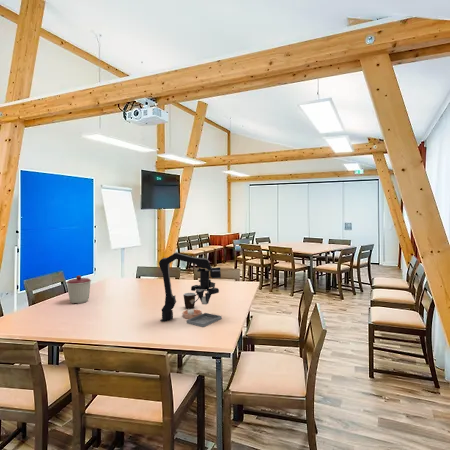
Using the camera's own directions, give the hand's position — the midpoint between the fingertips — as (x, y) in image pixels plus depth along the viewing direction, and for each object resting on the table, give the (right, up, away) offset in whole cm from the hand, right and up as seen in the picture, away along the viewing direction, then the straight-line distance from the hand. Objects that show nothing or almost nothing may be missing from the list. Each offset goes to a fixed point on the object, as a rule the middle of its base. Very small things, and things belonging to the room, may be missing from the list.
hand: (204, 302), depth 204 cm
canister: (-102, -12, +50) cm, 114 cm away
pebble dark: (0, -1, 0) cm, 0 cm away
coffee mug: (-11, -10, +28) cm, 32 cm away
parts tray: (0, -11, -5) cm, 12 cm away
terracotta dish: (-9, -11, +6) cm, 15 cm away
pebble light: (-9, -10, +4) cm, 14 cm away
